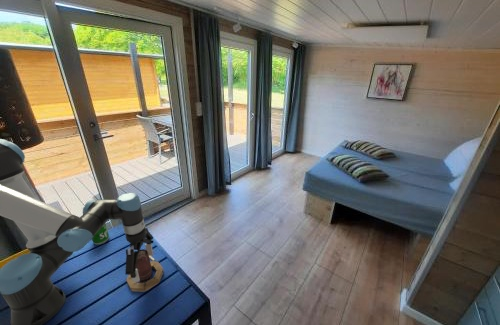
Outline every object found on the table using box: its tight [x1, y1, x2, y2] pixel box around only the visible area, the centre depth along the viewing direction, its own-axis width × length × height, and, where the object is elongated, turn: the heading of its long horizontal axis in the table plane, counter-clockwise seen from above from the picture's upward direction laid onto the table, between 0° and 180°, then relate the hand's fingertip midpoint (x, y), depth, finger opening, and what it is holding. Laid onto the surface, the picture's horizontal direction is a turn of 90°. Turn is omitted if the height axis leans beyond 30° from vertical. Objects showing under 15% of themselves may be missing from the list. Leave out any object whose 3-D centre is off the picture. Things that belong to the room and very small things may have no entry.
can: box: [136, 248, 153, 283], centre depth 94 cm, size 6×6×14 cm
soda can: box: [91, 222, 110, 245], centre depth 114 cm, size 8×8×12 cm
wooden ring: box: [126, 260, 164, 293], centre depth 96 cm, size 14×14×2 cm
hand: (143, 267), depth 94 cm, fingers open, 13 cm apart
